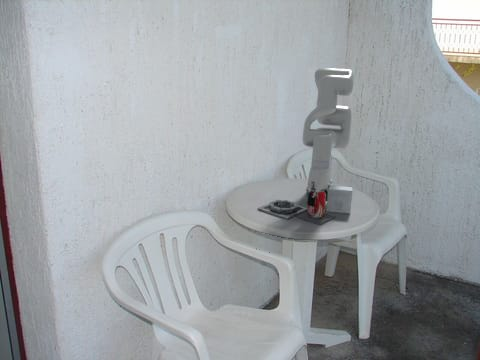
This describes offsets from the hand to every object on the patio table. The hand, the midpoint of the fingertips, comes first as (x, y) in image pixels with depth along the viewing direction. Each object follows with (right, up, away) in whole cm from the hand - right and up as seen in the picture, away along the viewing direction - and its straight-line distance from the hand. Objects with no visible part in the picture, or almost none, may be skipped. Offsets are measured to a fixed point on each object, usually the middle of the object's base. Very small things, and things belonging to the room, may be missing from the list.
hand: (317, 203), depth 193 cm
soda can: (0, -6, +2) cm, 6 cm away
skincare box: (+11, -4, +12) cm, 17 cm away
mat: (0, -6, +2) cm, 6 cm away
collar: (-13, -3, +9) cm, 17 cm away
